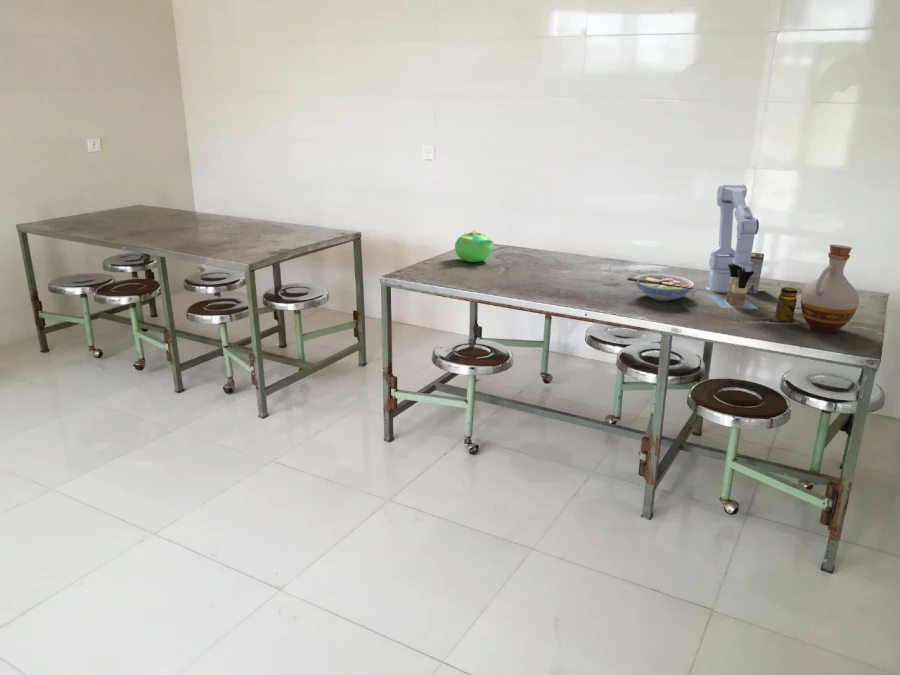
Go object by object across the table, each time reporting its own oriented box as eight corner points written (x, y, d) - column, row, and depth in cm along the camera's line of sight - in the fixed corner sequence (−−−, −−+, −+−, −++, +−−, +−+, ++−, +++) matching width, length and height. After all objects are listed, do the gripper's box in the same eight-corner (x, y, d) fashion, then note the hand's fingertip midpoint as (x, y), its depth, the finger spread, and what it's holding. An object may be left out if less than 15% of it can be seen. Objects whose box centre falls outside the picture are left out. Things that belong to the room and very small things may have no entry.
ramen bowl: (699, 297, 274) (702, 277, 272) (687, 311, 256) (690, 290, 253) (638, 287, 286) (641, 268, 283) (622, 300, 268) (624, 280, 265)
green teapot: (489, 257, 333) (491, 228, 328) (494, 266, 317) (495, 235, 312) (453, 257, 332) (454, 227, 327) (455, 265, 316) (456, 234, 311)
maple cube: (728, 289, 263) (730, 277, 262) (741, 289, 263) (743, 277, 262) (733, 293, 259) (735, 280, 257) (746, 293, 259) (748, 280, 257)
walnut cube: (725, 301, 265) (727, 289, 263) (738, 302, 265) (740, 289, 263) (730, 305, 260) (732, 293, 259) (743, 305, 260) (745, 293, 259)
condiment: (796, 324, 244) (802, 292, 240) (771, 322, 245) (777, 290, 241) (789, 317, 251) (795, 286, 247) (765, 316, 252) (771, 285, 248)
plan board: (705, 297, 274) (706, 294, 274) (740, 298, 274) (740, 295, 274) (721, 310, 257) (722, 307, 257) (758, 311, 257) (759, 308, 257)
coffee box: (741, 288, 288) (747, 251, 282) (757, 290, 285) (764, 253, 280) (740, 294, 280) (746, 256, 274) (756, 296, 277) (763, 257, 272)
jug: (833, 342, 226) (853, 254, 216) (782, 327, 240) (799, 244, 229) (861, 331, 237) (881, 247, 227) (810, 318, 251) (827, 238, 240)
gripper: (762, 255, 249) (755, 290, 253) (746, 246, 262) (740, 280, 267) (743, 254, 249) (736, 290, 253) (728, 246, 262) (723, 280, 267)
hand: (737, 285), depth 260 cm, fingers open, 7 cm apart
